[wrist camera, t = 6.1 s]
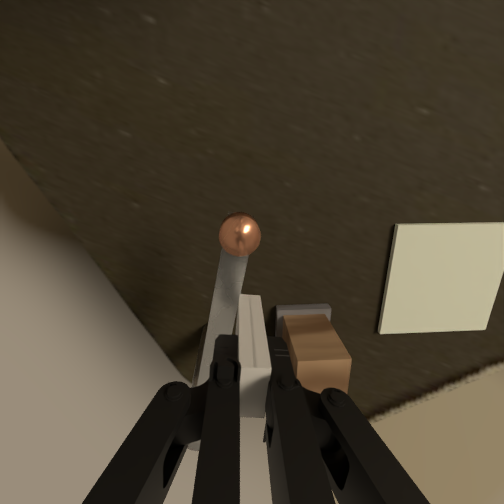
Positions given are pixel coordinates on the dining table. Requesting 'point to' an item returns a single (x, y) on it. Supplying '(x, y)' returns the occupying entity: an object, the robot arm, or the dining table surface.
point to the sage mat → (442, 277)
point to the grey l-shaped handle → (226, 289)
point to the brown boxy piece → (313, 346)
